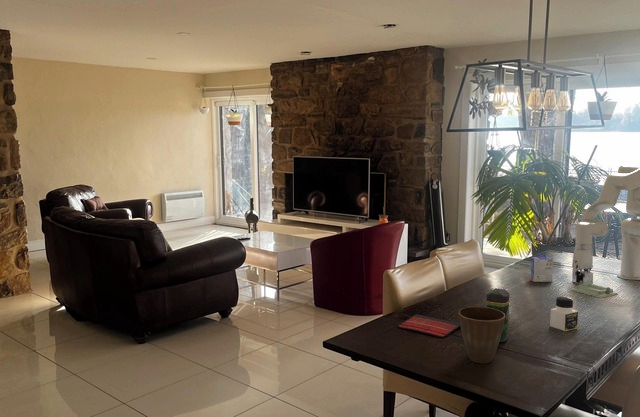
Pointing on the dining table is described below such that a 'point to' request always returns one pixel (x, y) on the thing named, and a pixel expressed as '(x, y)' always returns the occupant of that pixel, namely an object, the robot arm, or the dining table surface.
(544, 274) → the ink cartridge box
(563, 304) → the medicine bottle
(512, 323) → the dining table surface
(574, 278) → the block
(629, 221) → the robot arm
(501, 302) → the coffee jar
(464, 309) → the plant pot
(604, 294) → the tray
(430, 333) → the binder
